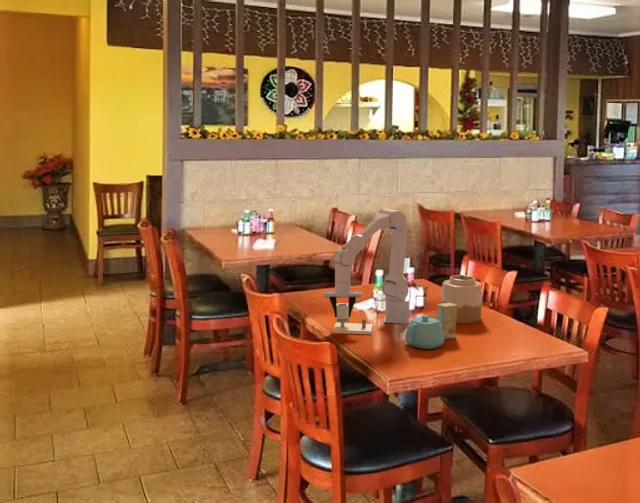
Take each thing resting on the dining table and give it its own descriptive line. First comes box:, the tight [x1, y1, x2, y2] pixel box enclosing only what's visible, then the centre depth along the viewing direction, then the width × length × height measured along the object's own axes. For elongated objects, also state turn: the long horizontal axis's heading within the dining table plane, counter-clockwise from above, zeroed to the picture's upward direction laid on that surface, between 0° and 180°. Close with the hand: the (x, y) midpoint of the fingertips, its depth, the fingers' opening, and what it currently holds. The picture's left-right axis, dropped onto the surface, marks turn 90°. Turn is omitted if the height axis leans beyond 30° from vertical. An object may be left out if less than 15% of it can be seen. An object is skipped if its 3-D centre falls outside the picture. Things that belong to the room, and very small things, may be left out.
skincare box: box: [435, 303, 457, 340], centre depth 268 cm, size 6×4×12 cm
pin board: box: [332, 318, 374, 335], centre depth 278 cm, size 14×10×4 cm
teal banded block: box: [335, 302, 350, 323], centre depth 278 cm, size 4×4×6 cm
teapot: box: [404, 313, 446, 350], centre depth 259 cm, size 13×11×18 cm
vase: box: [441, 274, 483, 325], centre depth 293 cm, size 15×15×17 cm
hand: (342, 316), depth 278 cm, fingers closed on teal banded block, 4 cm apart
